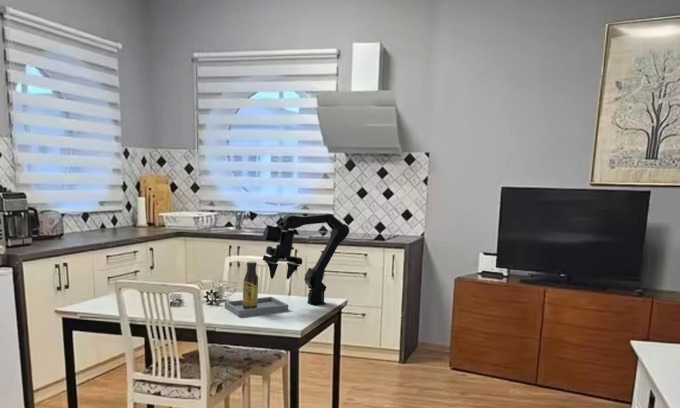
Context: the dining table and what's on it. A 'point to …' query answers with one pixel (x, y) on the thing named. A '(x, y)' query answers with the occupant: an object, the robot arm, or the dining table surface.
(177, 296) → the penguin figurine
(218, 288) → the valve
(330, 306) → the dining table surface
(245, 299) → the sauce bottle
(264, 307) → the tray
